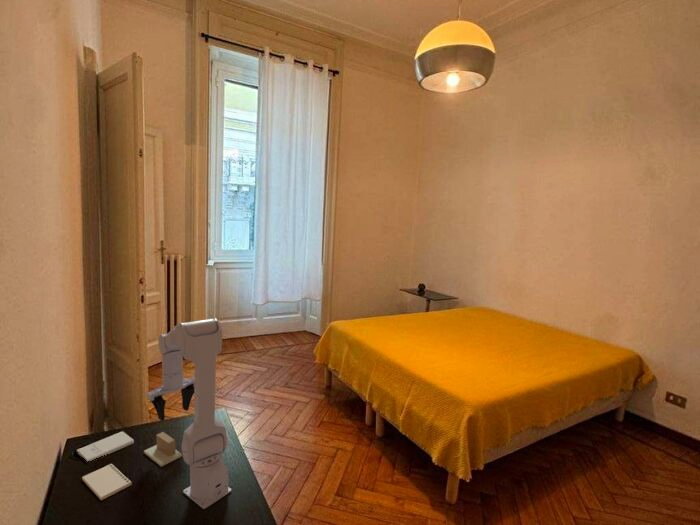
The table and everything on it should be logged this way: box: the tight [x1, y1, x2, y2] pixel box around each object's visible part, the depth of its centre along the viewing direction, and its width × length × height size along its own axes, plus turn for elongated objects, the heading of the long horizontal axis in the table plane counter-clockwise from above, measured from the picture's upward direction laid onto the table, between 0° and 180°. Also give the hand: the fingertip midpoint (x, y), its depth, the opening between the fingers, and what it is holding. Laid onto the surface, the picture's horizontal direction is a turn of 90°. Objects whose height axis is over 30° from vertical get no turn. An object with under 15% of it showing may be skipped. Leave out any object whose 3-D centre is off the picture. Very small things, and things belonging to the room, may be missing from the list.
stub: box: [143, 431, 183, 467], centre depth 109 cm, size 10×6×5 cm, turn 54°
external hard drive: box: [76, 430, 135, 463], centre depth 113 cm, size 2×8×12 cm
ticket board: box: [81, 463, 132, 501], centre depth 98 cm, size 12×7×1 cm, turn 54°
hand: (173, 414), depth 115 cm, fingers open, 7 cm apart
